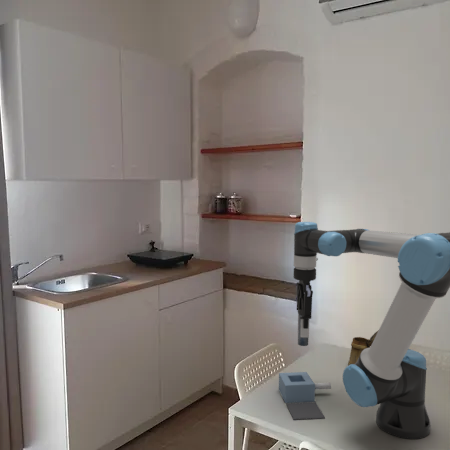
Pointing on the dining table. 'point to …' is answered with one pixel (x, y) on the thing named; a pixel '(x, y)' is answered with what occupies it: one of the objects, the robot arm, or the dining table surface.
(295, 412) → the mat
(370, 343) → the wooden mug
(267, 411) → the dining table surface
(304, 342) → the bottle
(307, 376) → the block
